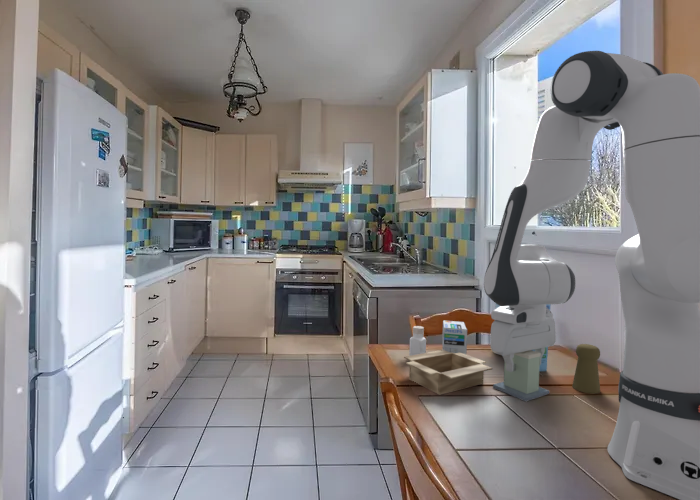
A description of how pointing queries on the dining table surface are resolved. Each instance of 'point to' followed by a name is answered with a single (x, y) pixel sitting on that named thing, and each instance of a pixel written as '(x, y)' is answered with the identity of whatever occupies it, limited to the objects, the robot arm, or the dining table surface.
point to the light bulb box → (454, 337)
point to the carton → (446, 371)
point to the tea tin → (524, 372)
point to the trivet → (520, 394)
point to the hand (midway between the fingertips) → (523, 367)
